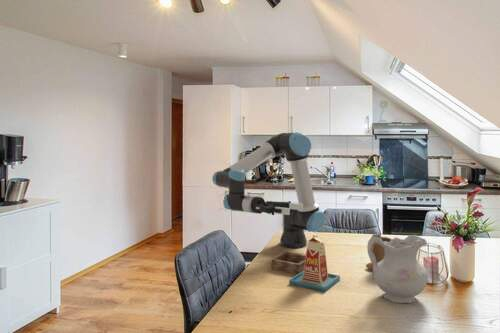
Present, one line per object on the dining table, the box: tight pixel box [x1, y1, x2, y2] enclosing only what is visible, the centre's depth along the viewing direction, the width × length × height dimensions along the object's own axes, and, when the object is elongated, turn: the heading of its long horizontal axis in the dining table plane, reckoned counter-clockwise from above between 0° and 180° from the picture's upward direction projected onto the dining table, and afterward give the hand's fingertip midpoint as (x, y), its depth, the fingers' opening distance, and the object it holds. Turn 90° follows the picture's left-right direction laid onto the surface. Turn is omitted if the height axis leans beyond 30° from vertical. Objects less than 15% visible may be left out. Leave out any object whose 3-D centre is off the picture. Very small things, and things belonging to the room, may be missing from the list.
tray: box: [288, 271, 341, 293], centre depth 173 cm, size 16×16×2 cm
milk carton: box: [302, 234, 329, 285], centre depth 172 cm, size 9×9×20 cm
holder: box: [270, 251, 306, 275], centre depth 192 cm, size 14×14×4 cm
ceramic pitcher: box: [367, 233, 429, 304], centre depth 155 cm, size 22×20×25 cm
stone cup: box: [365, 236, 393, 271], centre depth 188 cm, size 15×12×15 cm
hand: (296, 209), depth 176 cm, fingers open, 13 cm apart
